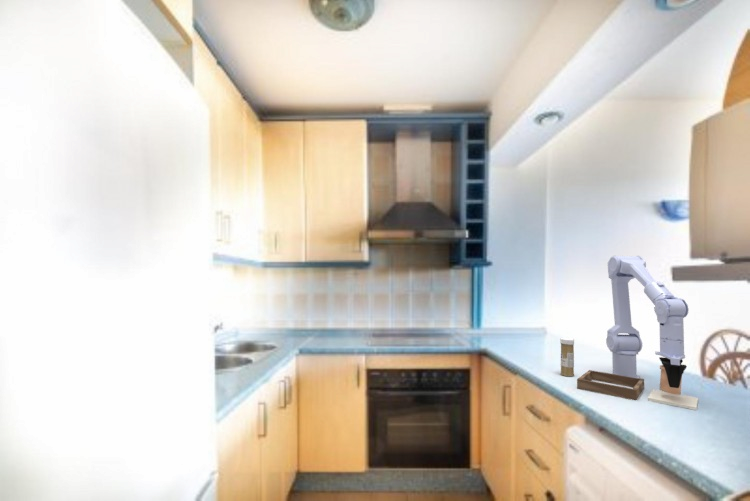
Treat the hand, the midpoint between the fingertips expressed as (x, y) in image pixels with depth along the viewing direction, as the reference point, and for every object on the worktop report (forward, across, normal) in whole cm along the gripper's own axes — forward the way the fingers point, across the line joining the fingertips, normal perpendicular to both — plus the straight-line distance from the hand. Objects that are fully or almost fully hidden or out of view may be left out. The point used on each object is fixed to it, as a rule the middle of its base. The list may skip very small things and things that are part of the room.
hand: (672, 384), depth 113 cm
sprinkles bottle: (+5, -12, -29) cm, 32 cm away
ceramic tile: (+5, 0, 0) cm, 5 cm away
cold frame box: (+5, -3, -16) cm, 17 cm away
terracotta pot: (+2, 0, -1) cm, 2 cm away
